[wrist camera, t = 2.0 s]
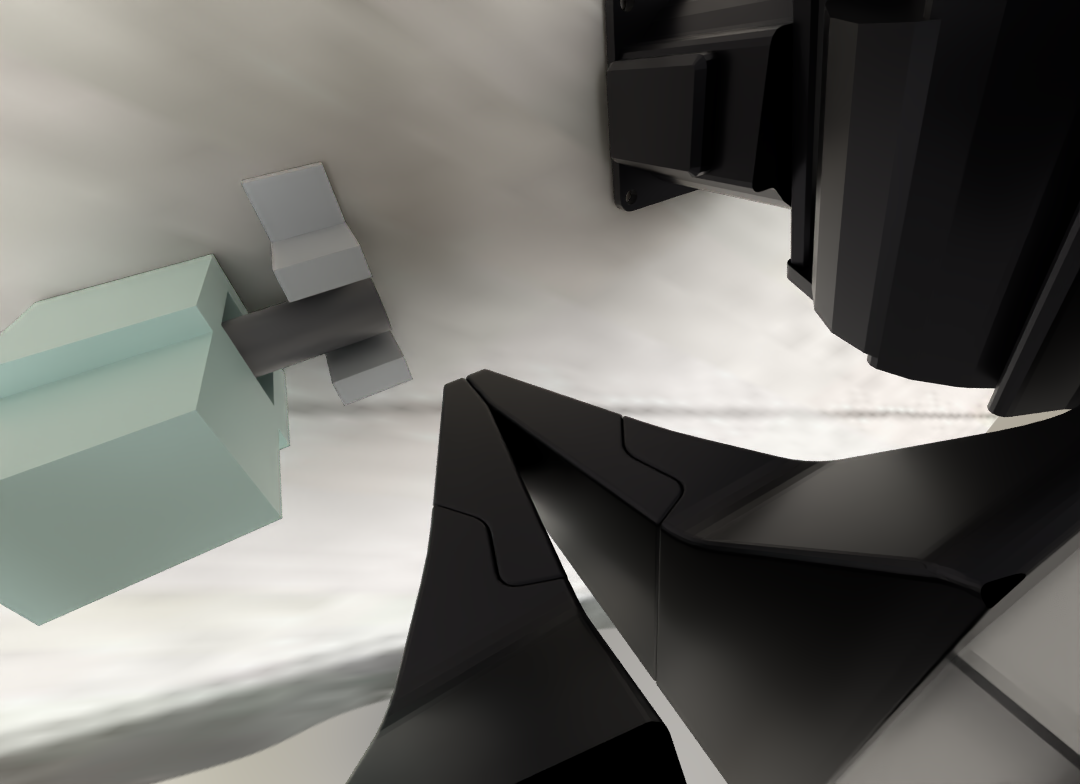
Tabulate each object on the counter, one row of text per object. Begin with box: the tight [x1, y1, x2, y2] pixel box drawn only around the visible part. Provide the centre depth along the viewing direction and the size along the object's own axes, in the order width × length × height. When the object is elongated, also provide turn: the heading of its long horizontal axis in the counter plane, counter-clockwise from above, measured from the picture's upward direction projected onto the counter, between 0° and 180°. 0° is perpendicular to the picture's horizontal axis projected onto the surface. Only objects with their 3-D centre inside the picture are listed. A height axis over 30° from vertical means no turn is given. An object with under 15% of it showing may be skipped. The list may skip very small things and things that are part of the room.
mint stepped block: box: [0, 254, 290, 626], centre depth 10 cm, size 4×4×7 cm
